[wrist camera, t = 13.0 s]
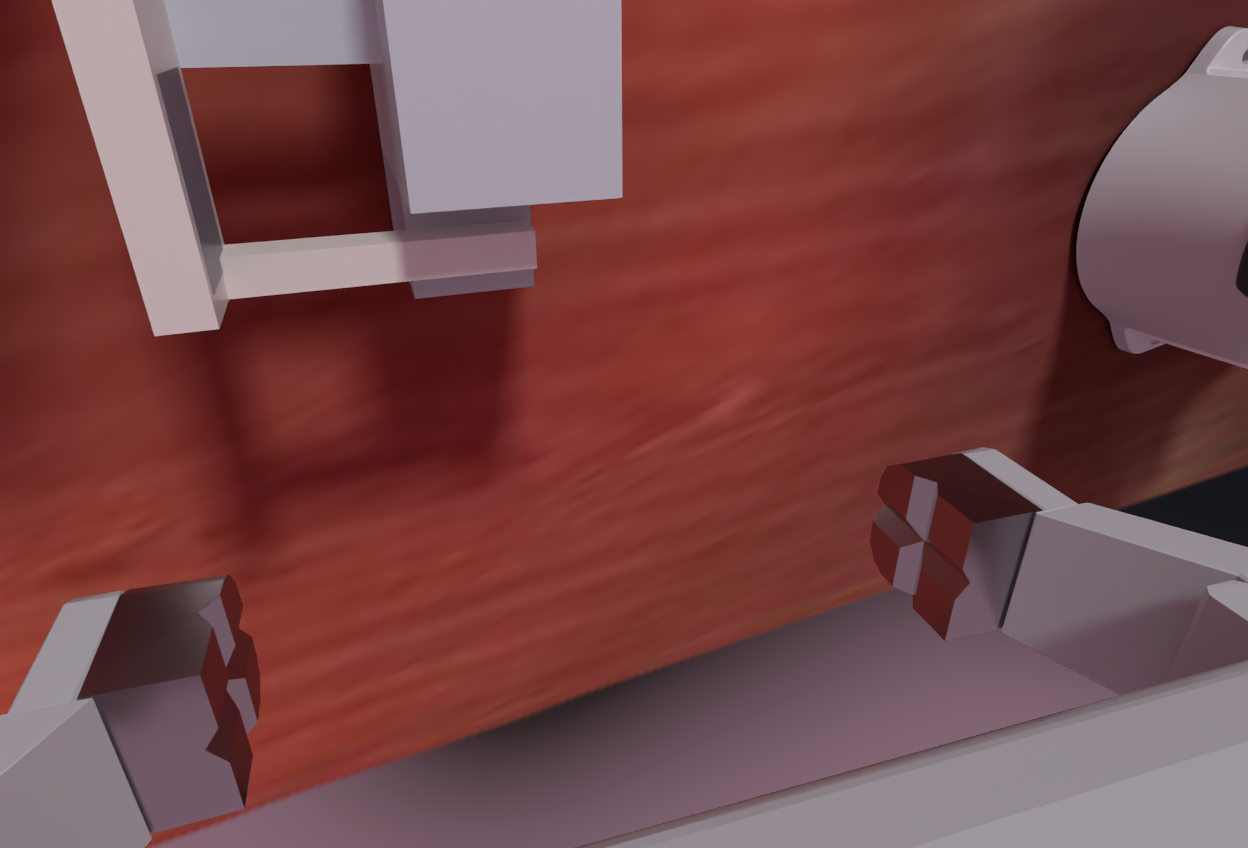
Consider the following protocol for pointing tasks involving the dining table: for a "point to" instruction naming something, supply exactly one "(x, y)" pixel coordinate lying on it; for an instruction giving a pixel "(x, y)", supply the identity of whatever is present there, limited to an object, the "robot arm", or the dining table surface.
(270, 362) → the dining table surface
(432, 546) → the dining table surface
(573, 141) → the white block with peg
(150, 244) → the white u-shaped bracket
